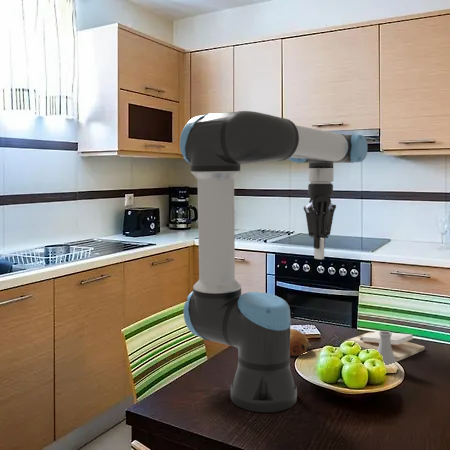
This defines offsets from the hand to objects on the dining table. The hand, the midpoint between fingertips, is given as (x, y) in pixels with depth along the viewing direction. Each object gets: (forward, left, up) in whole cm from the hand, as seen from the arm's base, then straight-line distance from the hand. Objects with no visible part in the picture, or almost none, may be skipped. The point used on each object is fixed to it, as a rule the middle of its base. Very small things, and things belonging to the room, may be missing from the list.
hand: (319, 258), depth 161 cm
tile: (+6, -15, -22) cm, 28 cm away
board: (+6, -20, -24) cm, 32 cm away
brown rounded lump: (-17, -5, -25) cm, 30 cm away
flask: (-9, -30, -25) cm, 40 cm away
